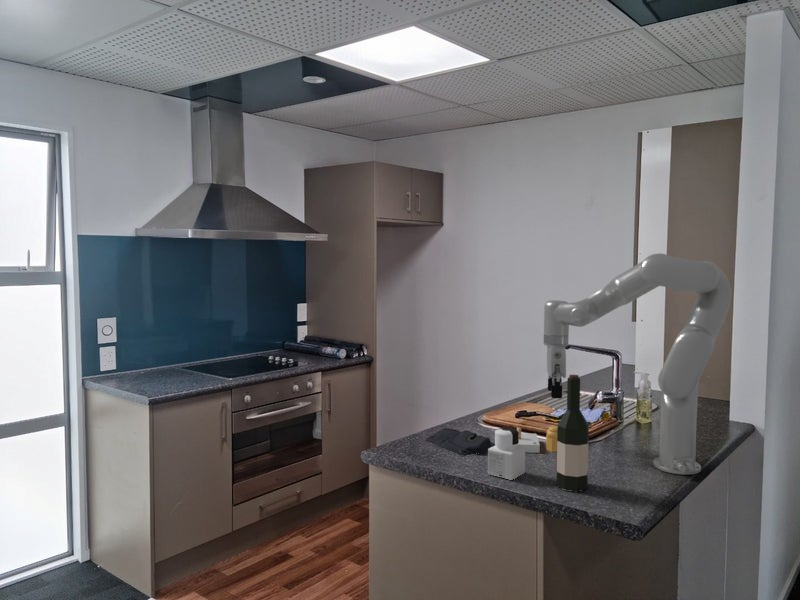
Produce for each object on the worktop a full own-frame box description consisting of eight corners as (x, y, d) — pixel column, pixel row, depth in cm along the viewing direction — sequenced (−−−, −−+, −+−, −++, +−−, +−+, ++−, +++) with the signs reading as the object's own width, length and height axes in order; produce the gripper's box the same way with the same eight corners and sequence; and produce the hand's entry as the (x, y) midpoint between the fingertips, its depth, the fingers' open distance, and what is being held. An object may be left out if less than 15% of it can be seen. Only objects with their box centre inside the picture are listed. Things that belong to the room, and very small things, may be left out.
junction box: (539, 452, 194) (539, 434, 193) (500, 451, 195) (500, 432, 195) (534, 435, 212) (534, 418, 212) (498, 434, 214) (498, 417, 213)
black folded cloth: (456, 433, 216) (456, 420, 216) (501, 450, 198) (501, 435, 198) (421, 442, 207) (421, 428, 207) (466, 459, 189) (466, 444, 189)
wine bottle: (582, 480, 171) (584, 372, 168) (592, 492, 162) (595, 378, 160) (552, 480, 170) (553, 372, 168) (561, 492, 162) (562, 378, 160)
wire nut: (563, 452, 194) (564, 430, 194) (547, 451, 195) (547, 429, 194) (561, 447, 199) (562, 425, 199) (545, 446, 200) (545, 425, 199)
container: (501, 467, 181) (501, 423, 180) (525, 473, 176) (525, 428, 175) (487, 475, 175) (487, 430, 174) (511, 481, 170) (512, 435, 169)
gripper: (572, 344, 185) (570, 401, 187) (564, 336, 202) (563, 388, 204) (546, 344, 186) (545, 400, 188) (541, 336, 203) (539, 387, 205)
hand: (554, 394), depth 196 cm, fingers open, 9 cm apart
